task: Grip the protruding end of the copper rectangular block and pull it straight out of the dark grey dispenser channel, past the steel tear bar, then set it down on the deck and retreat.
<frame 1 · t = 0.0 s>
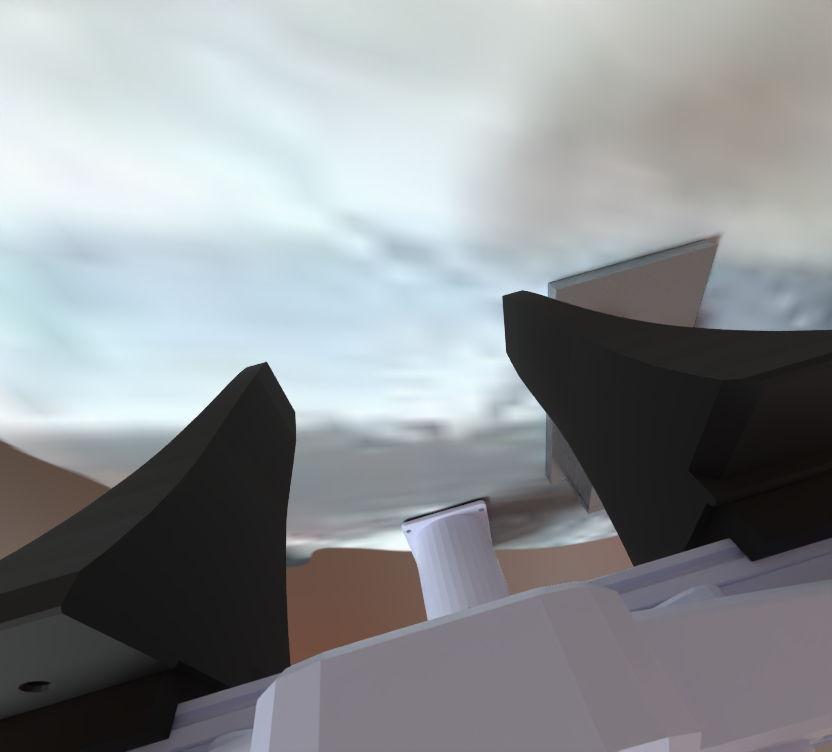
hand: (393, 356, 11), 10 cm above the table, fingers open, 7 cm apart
dispenser: (604, 409, 30), on the table
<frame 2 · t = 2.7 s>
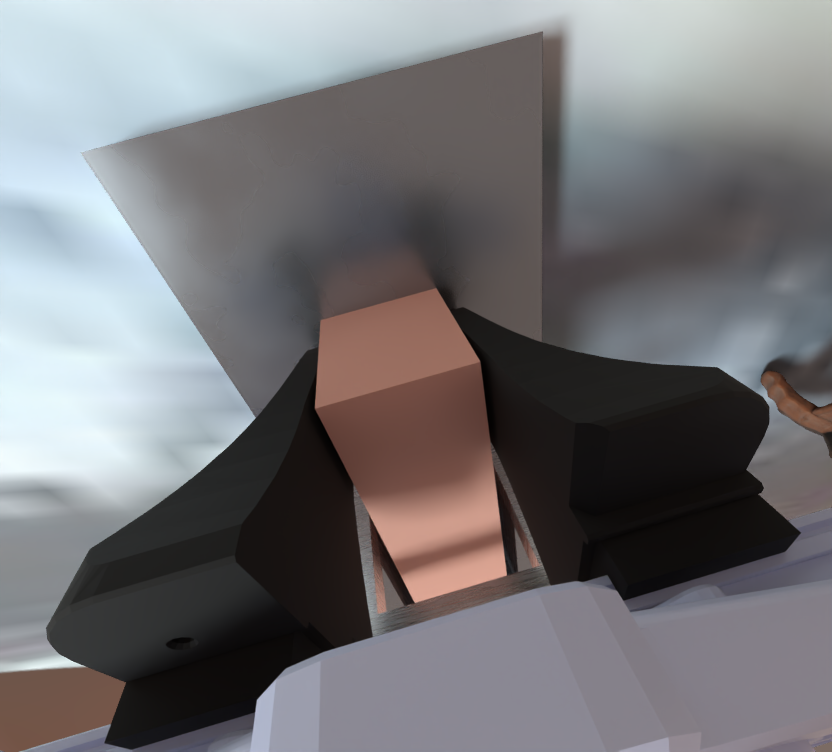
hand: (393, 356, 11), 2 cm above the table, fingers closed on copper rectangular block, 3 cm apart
dispenser: (422, 447, 16), on the table
copper rectangular block: (419, 441, 14), point 1 cm above the table, touching dispenser, gripper
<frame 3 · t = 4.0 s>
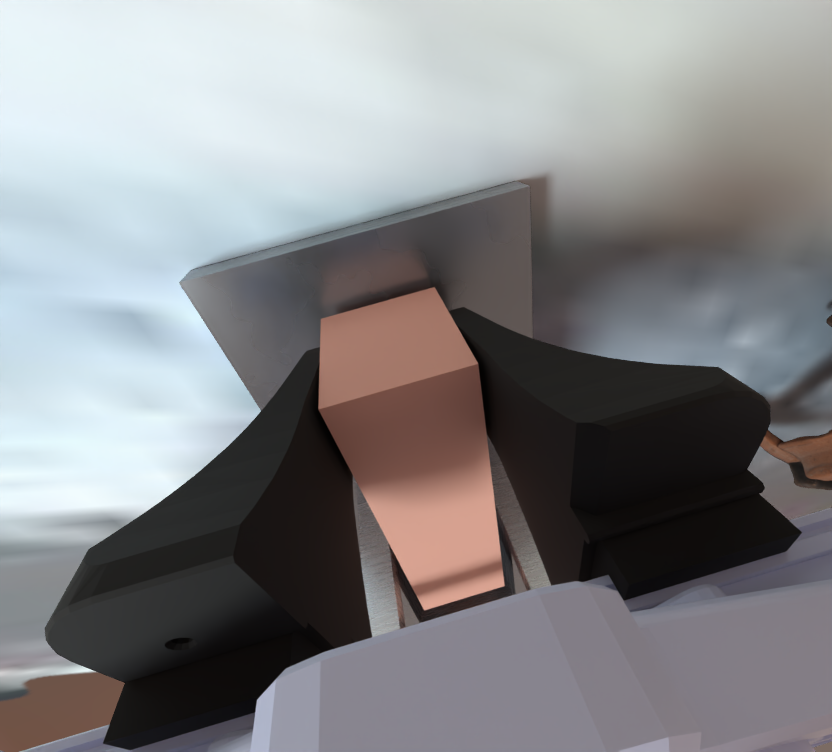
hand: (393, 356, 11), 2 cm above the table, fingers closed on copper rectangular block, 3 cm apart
dispenser: (431, 479, 18), on the table
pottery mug: (816, 344, 18), on the table
copper rectangular block: (417, 434, 15), point 1 cm above the table, touching gripper
when the fingers open (2 cm above the table, at t = 5.8 s): copper rectangular block stays where it is, resting on dispenser.
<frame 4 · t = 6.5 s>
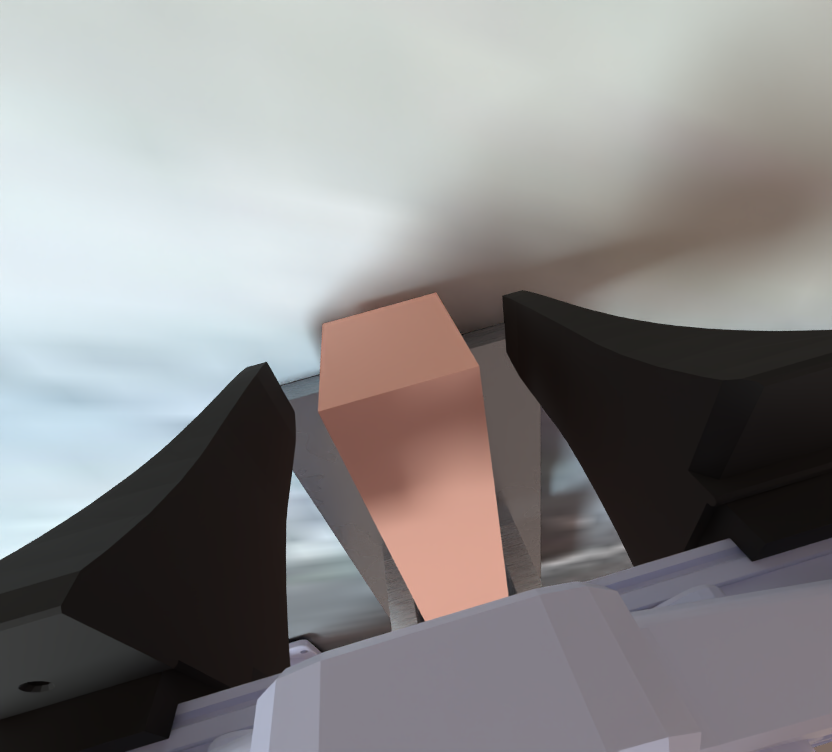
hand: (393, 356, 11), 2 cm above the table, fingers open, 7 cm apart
dispenser: (447, 534, 20), on the table
copper rectangular block: (419, 442, 14), point 1 cm above the table, touching dispenser
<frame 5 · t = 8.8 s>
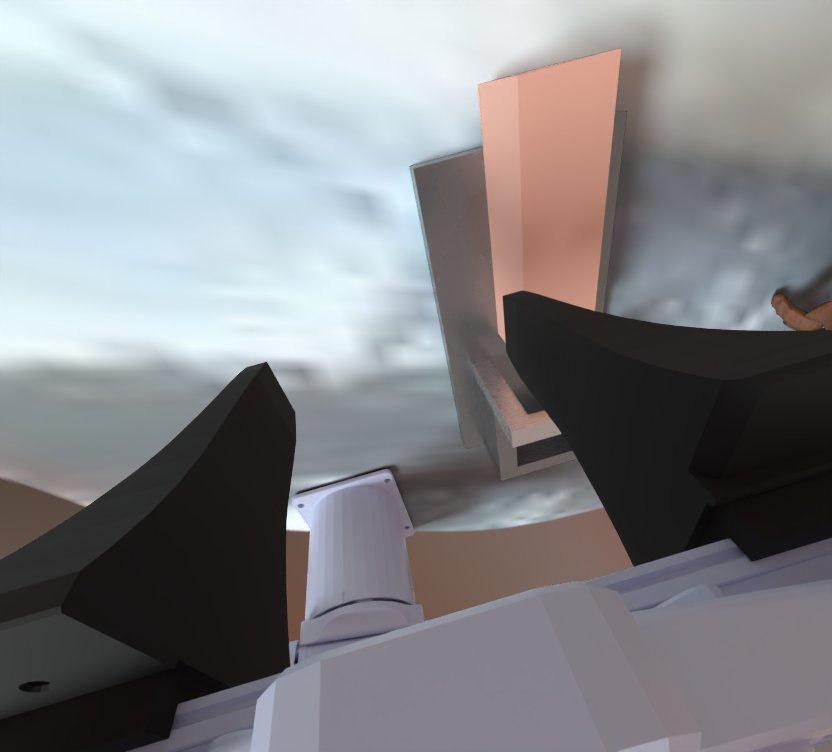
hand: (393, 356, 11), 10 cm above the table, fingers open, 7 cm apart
dispenser: (520, 354, 25), on the table
copper rectangular block: (523, 224, 18), point 1 cm above the table, touching dispenser
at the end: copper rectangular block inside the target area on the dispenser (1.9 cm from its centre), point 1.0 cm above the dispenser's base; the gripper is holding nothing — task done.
